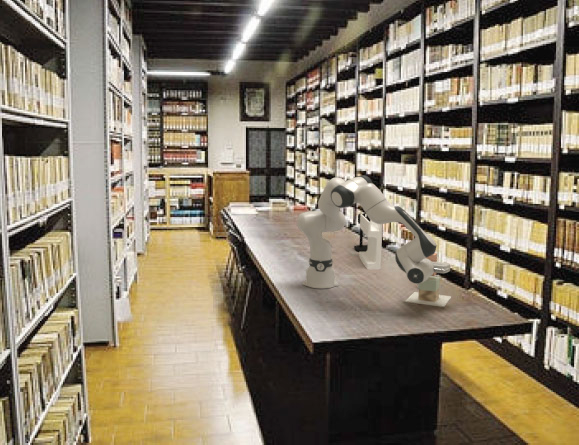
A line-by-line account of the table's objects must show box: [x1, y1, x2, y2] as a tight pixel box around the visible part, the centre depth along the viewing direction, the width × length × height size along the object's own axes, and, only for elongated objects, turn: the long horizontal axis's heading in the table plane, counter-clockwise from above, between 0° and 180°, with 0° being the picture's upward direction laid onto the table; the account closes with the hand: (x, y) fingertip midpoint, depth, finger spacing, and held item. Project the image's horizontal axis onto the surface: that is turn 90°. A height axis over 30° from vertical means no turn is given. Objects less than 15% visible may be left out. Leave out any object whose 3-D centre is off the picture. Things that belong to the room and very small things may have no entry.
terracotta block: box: [426, 252, 438, 277], centre depth 262 cm, size 5×5×10 cm
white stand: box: [358, 213, 383, 270], centre depth 341 cm, size 35×8×28 cm, turn 0°
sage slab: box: [418, 276, 441, 292], centre depth 264 cm, size 8×8×5 cm
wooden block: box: [418, 288, 440, 302], centre depth 264 cm, size 8×8×5 cm
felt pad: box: [404, 291, 452, 308], centre depth 265 cm, size 18×18×1 cm
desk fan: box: [353, 211, 370, 252], centre depth 381 cm, size 27×18×35 cm, turn 1°
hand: (430, 262), depth 263 cm, fingers closed on terracotta block, 5 cm apart
